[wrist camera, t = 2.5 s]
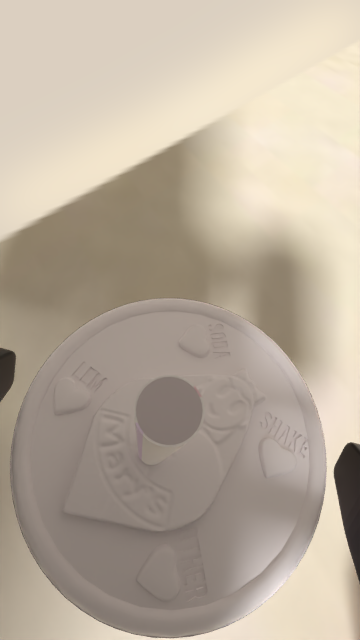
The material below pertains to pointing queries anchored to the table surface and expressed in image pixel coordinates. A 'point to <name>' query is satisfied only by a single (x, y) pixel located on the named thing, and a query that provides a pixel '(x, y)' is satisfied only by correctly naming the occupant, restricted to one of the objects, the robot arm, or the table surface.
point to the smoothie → (168, 468)
